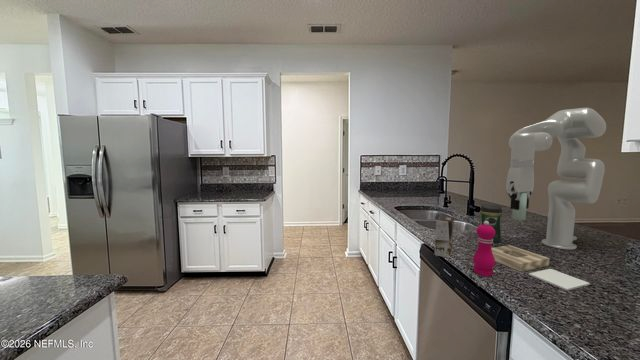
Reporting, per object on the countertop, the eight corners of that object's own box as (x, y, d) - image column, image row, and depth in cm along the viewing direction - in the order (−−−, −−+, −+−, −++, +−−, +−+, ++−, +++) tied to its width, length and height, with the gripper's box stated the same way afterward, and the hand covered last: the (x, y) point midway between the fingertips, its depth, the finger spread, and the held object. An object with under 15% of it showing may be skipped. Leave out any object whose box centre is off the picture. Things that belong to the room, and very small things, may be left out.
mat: (550, 270, 103) (550, 268, 103) (589, 284, 92) (590, 283, 92) (528, 274, 99) (528, 273, 99) (566, 290, 88) (567, 289, 88)
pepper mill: (468, 268, 105) (470, 218, 103) (485, 267, 105) (488, 218, 103) (480, 277, 98) (483, 223, 96) (499, 276, 98) (502, 223, 96)
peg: (517, 216, 114) (518, 191, 112) (528, 219, 109) (530, 192, 108) (509, 217, 112) (510, 192, 111) (520, 220, 108) (522, 193, 107)
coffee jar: (500, 239, 139) (502, 204, 137) (501, 243, 132) (503, 206, 130) (478, 236, 144) (480, 202, 142) (478, 240, 138) (480, 204, 135)
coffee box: (450, 258, 115) (452, 221, 113) (434, 255, 118) (435, 219, 117) (452, 251, 123) (454, 217, 121) (437, 248, 126) (438, 215, 124)
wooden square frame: (509, 251, 122) (509, 245, 122) (548, 265, 107) (549, 258, 107) (482, 255, 117) (483, 249, 117) (520, 271, 102) (520, 263, 102)
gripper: (527, 162, 114) (524, 204, 116) (497, 164, 109) (495, 208, 111) (546, 163, 107) (543, 208, 109) (516, 165, 102) (513, 212, 104)
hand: (519, 208), depth 110 cm, fingers closed on peg, 4 cm apart
